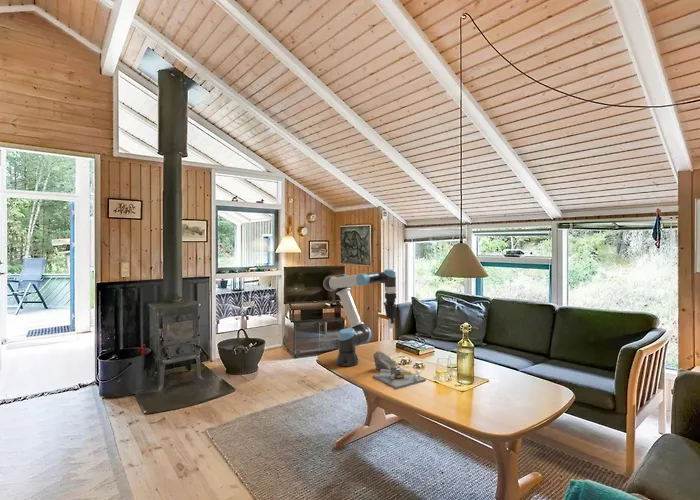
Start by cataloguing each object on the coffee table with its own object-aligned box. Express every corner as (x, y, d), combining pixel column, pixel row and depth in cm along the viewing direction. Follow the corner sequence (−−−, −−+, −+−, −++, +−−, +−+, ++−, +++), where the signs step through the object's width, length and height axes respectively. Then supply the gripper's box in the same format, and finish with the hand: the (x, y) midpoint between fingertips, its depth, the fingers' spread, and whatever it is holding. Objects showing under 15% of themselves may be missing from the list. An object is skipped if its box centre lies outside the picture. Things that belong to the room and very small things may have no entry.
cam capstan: (376, 380, 231) (376, 370, 231) (384, 370, 249) (383, 360, 249) (408, 383, 225) (408, 372, 225) (413, 372, 243) (413, 362, 243)
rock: (398, 366, 253) (387, 346, 254) (392, 373, 248) (380, 352, 249) (386, 370, 262) (375, 350, 263) (380, 376, 256) (368, 355, 258)
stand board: (372, 376, 242) (372, 367, 242) (400, 369, 253) (400, 360, 253) (396, 389, 221) (396, 378, 221) (425, 380, 233) (425, 370, 232)
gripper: (380, 292, 261) (381, 327, 261) (391, 294, 250) (392, 330, 250) (389, 291, 265) (390, 325, 265) (401, 293, 253) (402, 329, 254)
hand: (391, 328), depth 258 cm, fingers closed
